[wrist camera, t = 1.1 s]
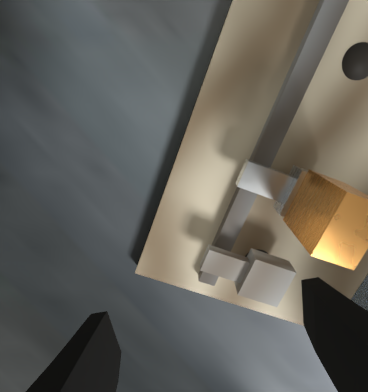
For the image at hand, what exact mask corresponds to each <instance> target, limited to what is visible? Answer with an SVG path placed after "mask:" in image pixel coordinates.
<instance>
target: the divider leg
mask: <svg viewBox="0 0 368 392" xmlns="http://www.w3.org/2000/svg"><path fill="white" fill-rule="evenodd" d="M235 184H236V185H237V187H239V188H242V189H245V190H248V191H250V192H253V193H256V194H259V195H262V196H264V197H267V198H270V199H273V200H276V201H275V203H274V205H273V207H274V209H275V210H276V211H277V213H278V214H279V215H280V216H283V217H284V218H283V221H284V222H285V223H286V225H287V226H288V227H289V229H290V230H291V231H292V232H293V234H294V235H295V236H296V237H297V239H298V240H299V241H300V243H301V244H302V245H303V246H304V248H305V249H306V250H307V252H308V253H309V254H310V255H311V256H313V257H316V258H319V259H322V260H325V261H328V262H331V263H334V264H337V265H339V266H342V267H345V268H348V269H351V270H354V269H355V268H356V266H357V265H358V263H359V262H360V260H361V259H362V257H363V255H364V254H365V252H366V251H367V249H368V195H366V194H365V193H363V192H361V191H359V190H357V189H355V188H354V187H352V186H350V185H348V184H346V183H344V182H342V181H339V180H336V179H334V178H331V177H328V176H326V175H323V174H320V173H318V172H315V171H312V170H310V169H309V170H305V169H303V168H300V167H297V166H295V165H293V167H292V169H291V171H290V173H289V174H286V173H283V172H281V171H278V170H275V169H273V168H270V167H267V166H264V165H262V164H259V163H256V162H254V161H251V160H248V159H246V160H245V163H244V165H243V167H242V169H241V172H240V174H239V176H238V178H237V181H236V183H235Z"/></svg>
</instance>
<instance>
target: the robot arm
mask: <svg viewBox="0 0 368 392" xmlns="http://www.w3.org/2000/svg"><path fill="white" fill-rule="evenodd" d="M301 284H302V304H303V324H304V326H305V329H306V331H307V333H308V336H309V338H310V340H311V343H312V345H313V347H314V350H315V352H316V354H317V355H318V357H319V359H320V361H321V363H322V364H323V366H324V368H325V370H326V371H327V373H328V375H329V377H330V379H331V380H332V382H333V384H334V386H335V387H336V389H337V391H338V392H368V311H366V310H365V309H363V308H362V307H360V306H359V305H357V304H356V303H354V302H353V301H352V300H350V299H349V298H347V297H346V296H344V295H343V294H342V293H340V292H339V291H337V290H336V289H334V288H333V287H332V286H330V285H329V284H327V283H326V282H325V281H323V280H322V279H320V278H319V277H316V278H310V279H304V280H301ZM120 359H121V350H120V347H119V344H118V341H117V339H116V336H115V333H114V330H113V327H112V324H111V321H110V318H109V315H108V312H107V311H106V312H100V313H94V314H91V315H90V316H89V317H88V318H87V320H86V321H85V322H84V323H83V325H82V326H81V327H80V328H79V330H78V331H77V332H76V333H75V335H74V336H73V337H72V338H71V340H70V341H69V342H68V343H67V344H66V346H65V347H64V348H63V349H62V351H61V352H60V353H59V354H58V355H57V357H56V358H55V359H54V360H53V361H52V363H51V364H50V365H49V366H48V367H47V368H46V369H45V371H44V372H43V373H42V374H41V375H40V376H39V377H38V378H37V380H36V381H35V382H34V383H33V384H32V385H31V386H30V387H29V389H28V390H27V391H26V392H116V389H117V384H118V377H119V369H120Z"/></svg>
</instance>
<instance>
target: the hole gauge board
mask: <svg viewBox="0 0 368 392" xmlns="http://www.w3.org/2000/svg"><path fill="white" fill-rule="evenodd" d="M246 159H248V160H251V161H254V162H256V163H259V164H262V165H264V166H267V167H270V168H273V169H275V170H278V171H281V172H283V173H286V174H289V173H290V171H291V169H292V167H293V165H295V166H297V167H300V168H303V169H305V170H309V169H310V170H312V171H315V172H318V173H320V174H323V175H326V176H328V177H331V178H334V179H336V180H339V181H342V182H344V183H346V184H348V185H350V186H352V187H354V188H355V189H357V190H359V191H361V192H363V193H365V194H366V195H368V0H232V3H231V5H230V8H229V11H228V14H227V17H226V19H225V22H224V25H223V28H222V30H221V33H220V36H219V39H218V42H217V44H216V47H215V50H214V53H213V56H212V58H211V61H210V64H209V67H208V70H207V72H206V75H205V78H204V81H203V84H202V86H201V89H200V92H199V95H198V97H197V100H196V103H195V106H194V109H193V111H192V114H191V117H190V120H189V123H188V125H187V128H186V131H185V134H184V137H183V139H182V142H181V145H180V148H179V151H178V153H177V156H176V159H175V162H174V165H173V167H172V170H171V173H170V176H169V178H168V181H167V184H166V187H165V190H164V192H163V195H162V198H161V201H160V204H159V206H158V209H157V212H156V215H155V218H154V220H153V223H152V226H151V229H150V232H149V234H148V237H147V240H146V243H145V245H144V248H143V251H142V254H141V257H140V259H139V262H138V265H137V268H136V272H135V273H136V274H139V275H142V276H146V277H149V278H152V279H155V280H159V281H162V282H165V283H168V284H171V285H175V286H178V287H181V288H184V289H187V290H191V291H194V292H197V293H200V294H203V295H207V296H210V297H213V298H216V299H220V300H223V301H226V302H229V303H232V304H236V305H239V306H242V307H245V308H248V309H252V310H255V311H258V312H261V313H265V314H268V315H271V316H274V317H277V318H281V319H284V320H287V321H290V322H293V323H297V324H300V325H303V326H304V324H303V304H302V284H301V280H304V279H310V278H316V277H319V278H320V279H322V280H323V281H325V282H326V283H327V284H329V285H330V286H332V287H333V288H334V289H336V290H337V291H339V292H340V293H342V294H343V295H344V296H346V297H347V298H349V299H350V300H351V298H352V297H353V295H354V294H355V292H356V291H357V289H358V288H359V286H360V285H361V283H362V282H363V280H364V279H365V277H366V276H367V274H368V249H367V251H366V252H365V254H364V255H363V257H362V259H361V260H360V262H359V263H358V265H357V266H356V268H355V269H354V270H351V269H348V268H345V267H342V266H339V265H337V264H334V263H331V262H328V261H325V260H322V259H319V258H316V257H313V256H311V255H310V254H309V253H308V252H307V250H306V249H305V248H304V246H303V245H302V244H301V243H300V241H299V240H298V239H297V237H296V236H295V235H294V234H293V232H292V231H291V230H290V229H289V227H288V226H287V225H286V223H285V222H284V221H283V218H284V217H283V216H280V215H279V214H278V213H277V211H276V210H275V209H274V207H273V205H274V203H275V201H276V200H273V199H270V198H267V197H264V196H262V195H259V194H256V193H253V192H250V191H248V190H245V189H242V188H239V187H237V185H236V184H235V183H236V181H237V178H238V176H239V174H240V172H241V169H242V167H243V165H244V163H245V160H246Z"/></svg>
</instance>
